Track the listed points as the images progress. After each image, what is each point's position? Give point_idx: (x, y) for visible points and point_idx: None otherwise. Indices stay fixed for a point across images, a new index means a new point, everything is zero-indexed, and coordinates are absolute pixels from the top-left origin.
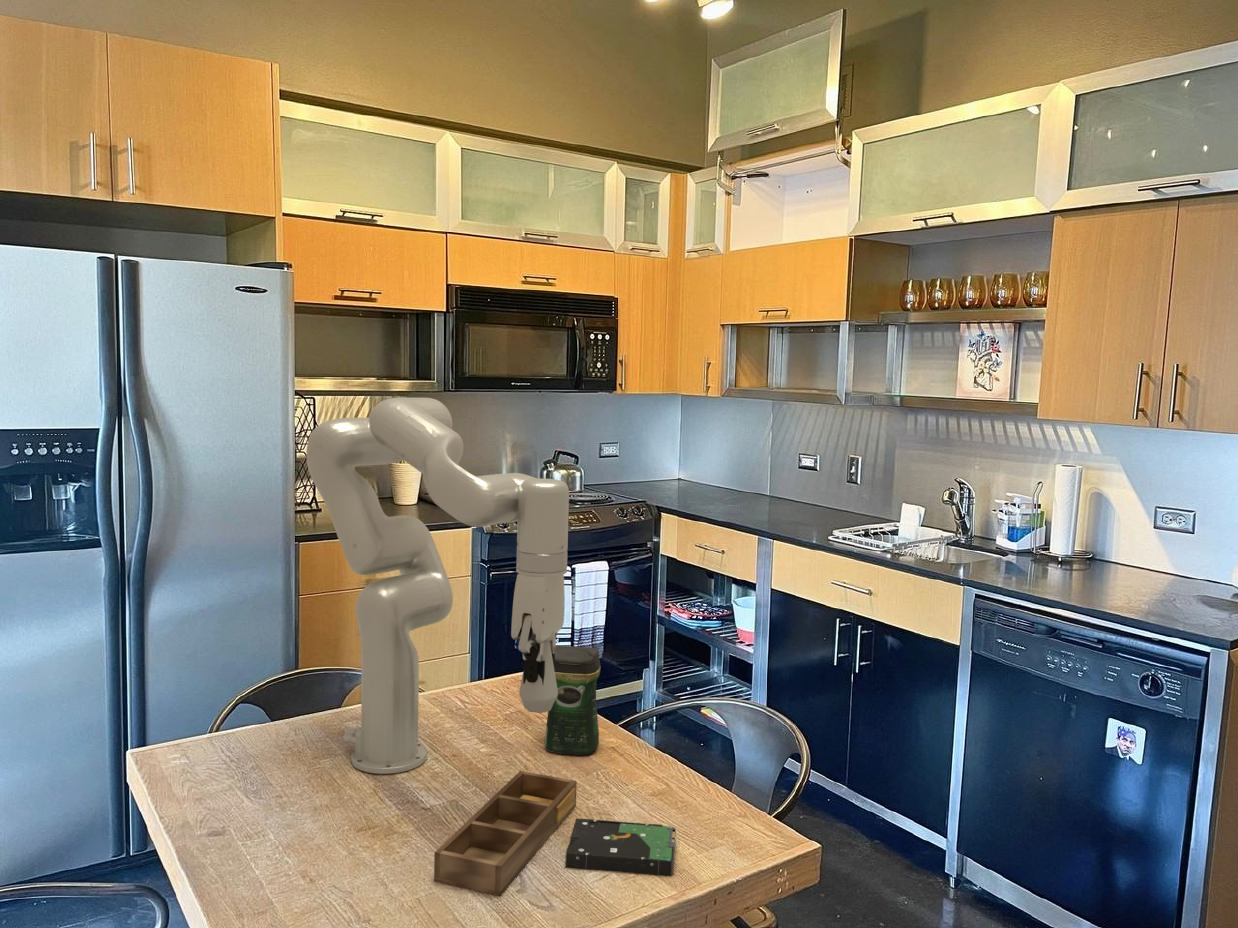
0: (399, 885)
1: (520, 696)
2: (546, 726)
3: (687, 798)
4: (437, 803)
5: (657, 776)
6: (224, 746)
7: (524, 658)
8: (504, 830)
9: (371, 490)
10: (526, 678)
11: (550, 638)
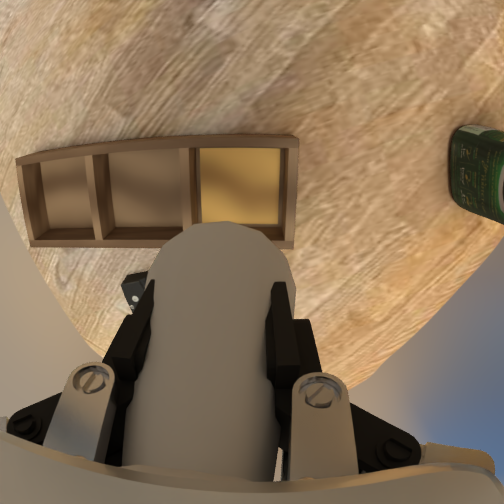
0: (19, 124)
1: (172, 238)
2: (482, 131)
3: (350, 349)
4: (212, 27)
5: (405, 304)
6: None
7: (77, 377)
8: (91, 210)
9: None
10: (126, 316)
11: None
